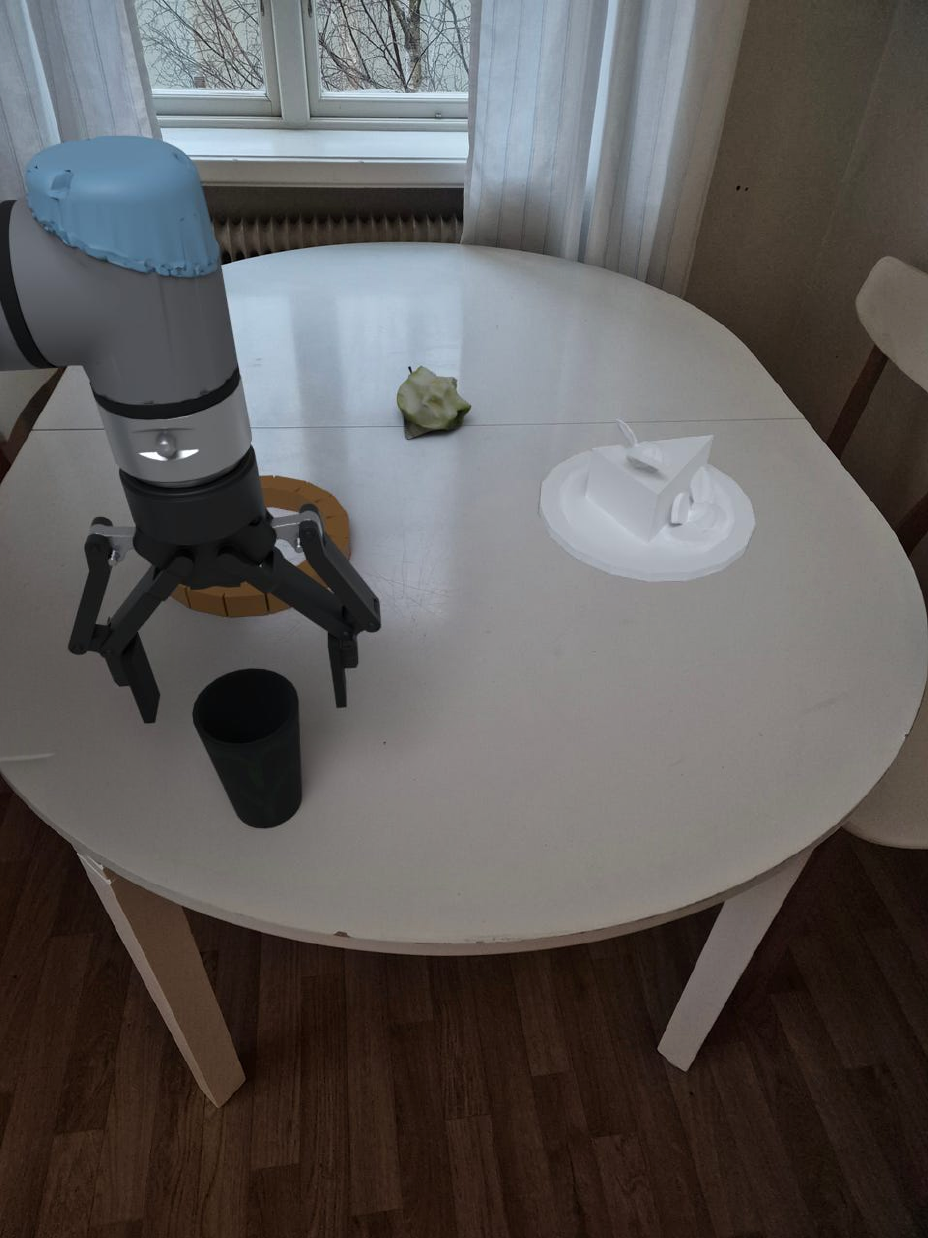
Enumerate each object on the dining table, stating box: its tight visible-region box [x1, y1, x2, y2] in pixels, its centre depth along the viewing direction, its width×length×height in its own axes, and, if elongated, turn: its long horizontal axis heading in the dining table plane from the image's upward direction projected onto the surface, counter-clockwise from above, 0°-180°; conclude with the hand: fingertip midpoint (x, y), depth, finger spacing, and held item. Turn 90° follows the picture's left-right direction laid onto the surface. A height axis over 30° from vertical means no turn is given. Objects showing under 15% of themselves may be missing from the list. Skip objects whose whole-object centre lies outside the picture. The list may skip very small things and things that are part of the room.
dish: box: [538, 418, 756, 583], centre depth 97 cm, size 25×25×11 cm
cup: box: [191, 667, 303, 829], centre depth 67 cm, size 8×8×12 cm
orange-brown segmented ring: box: [169, 474, 352, 618], centre depth 94 cm, size 21×21×3 cm
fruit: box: [396, 365, 472, 441], centre depth 113 cm, size 9×9×8 cm
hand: (248, 701), depth 63 cm, fingers open, 13 cm apart
